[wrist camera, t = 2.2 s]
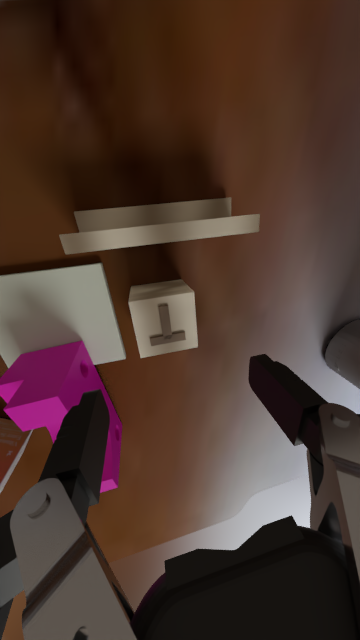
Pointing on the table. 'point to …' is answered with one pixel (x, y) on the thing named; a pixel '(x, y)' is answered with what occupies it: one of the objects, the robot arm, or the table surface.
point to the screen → (155, 225)
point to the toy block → (58, 396)
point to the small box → (10, 448)
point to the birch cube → (163, 317)
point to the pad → (59, 313)
